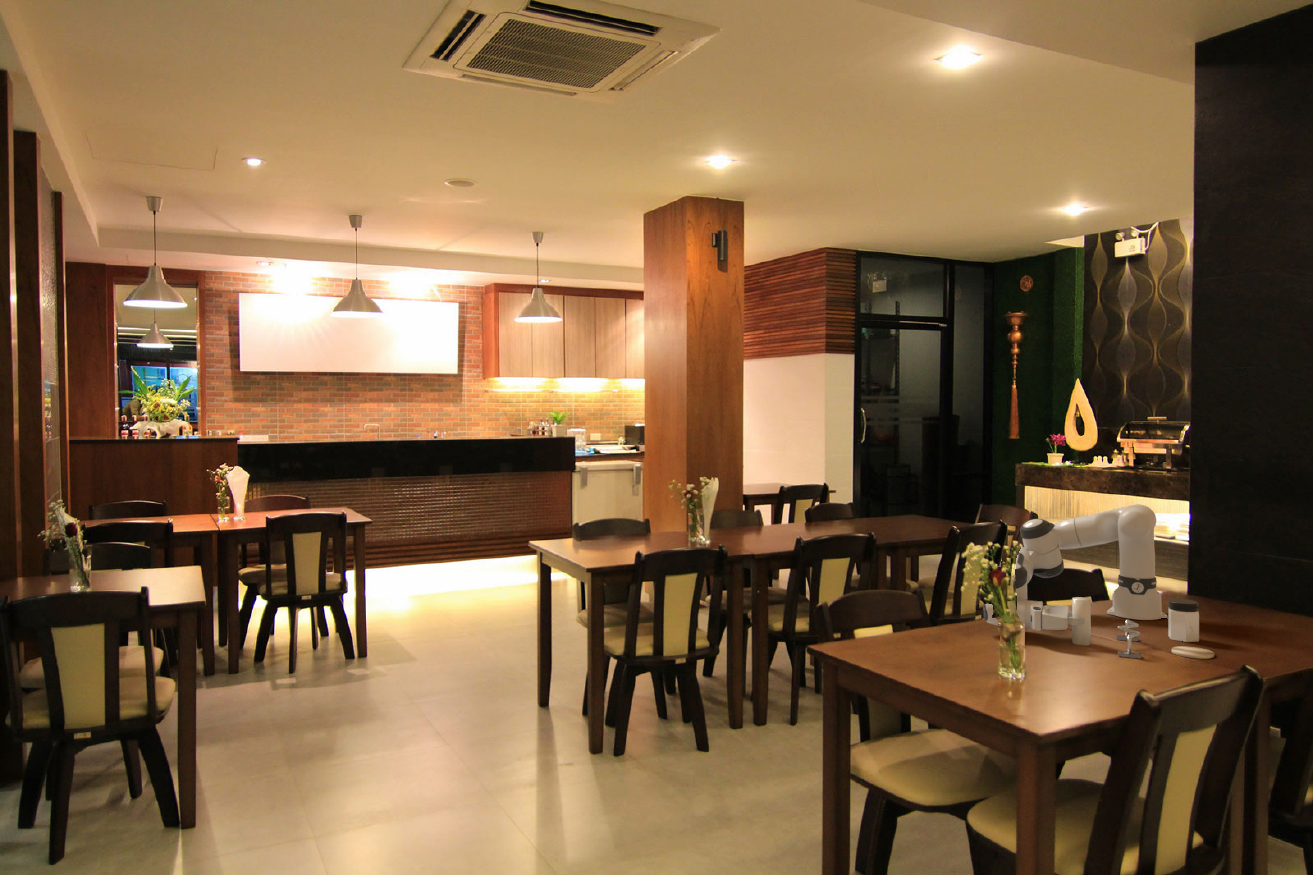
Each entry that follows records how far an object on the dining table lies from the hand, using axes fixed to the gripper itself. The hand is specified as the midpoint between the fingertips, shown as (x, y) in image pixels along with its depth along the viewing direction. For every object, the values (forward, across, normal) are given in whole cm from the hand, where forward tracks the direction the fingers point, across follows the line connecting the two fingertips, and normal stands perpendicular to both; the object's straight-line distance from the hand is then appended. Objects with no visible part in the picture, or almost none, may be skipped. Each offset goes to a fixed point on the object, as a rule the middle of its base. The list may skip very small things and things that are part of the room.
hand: (1084, 619), depth 281 cm
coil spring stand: (+12, 0, -8) cm, 14 cm away
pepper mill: (-1, 0, -8) cm, 8 cm away
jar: (+28, -19, -8) cm, 35 cm away
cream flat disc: (+29, 0, -8) cm, 30 cm away
